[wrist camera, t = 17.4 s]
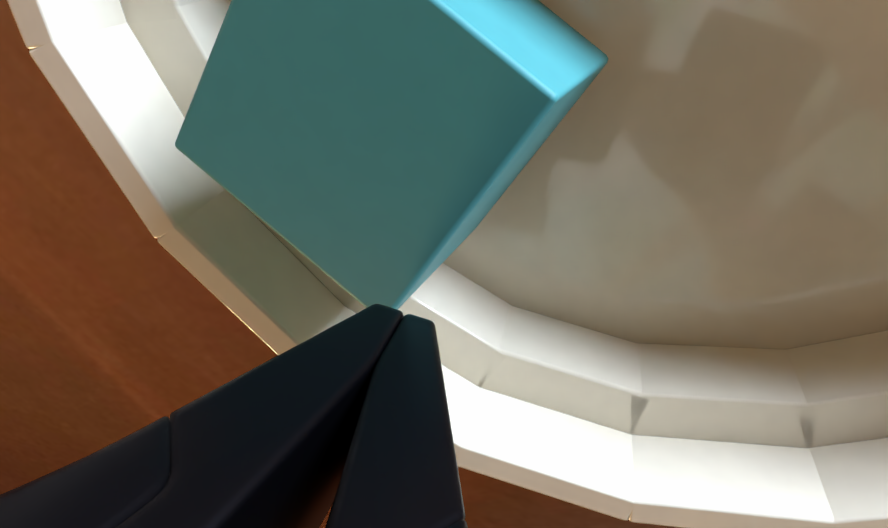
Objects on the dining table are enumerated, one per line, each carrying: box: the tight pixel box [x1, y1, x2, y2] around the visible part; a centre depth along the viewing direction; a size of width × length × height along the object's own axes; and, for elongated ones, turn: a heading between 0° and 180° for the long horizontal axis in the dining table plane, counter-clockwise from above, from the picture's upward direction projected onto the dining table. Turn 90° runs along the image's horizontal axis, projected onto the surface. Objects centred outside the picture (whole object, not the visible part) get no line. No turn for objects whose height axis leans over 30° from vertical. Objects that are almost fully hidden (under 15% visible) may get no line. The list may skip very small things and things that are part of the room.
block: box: [175, 0, 608, 310], centre depth 10 cm, size 4×4×4 cm
